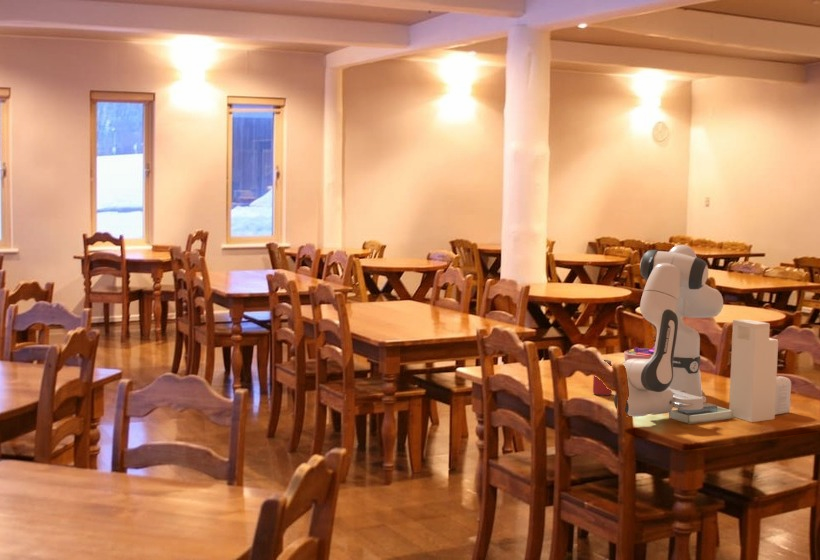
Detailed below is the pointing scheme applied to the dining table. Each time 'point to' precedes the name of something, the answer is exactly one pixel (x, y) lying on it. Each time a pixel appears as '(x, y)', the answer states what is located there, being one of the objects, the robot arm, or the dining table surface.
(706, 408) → the drive caddy
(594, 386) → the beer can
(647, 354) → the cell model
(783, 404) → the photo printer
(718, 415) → the tray
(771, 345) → the white dispenser tower
